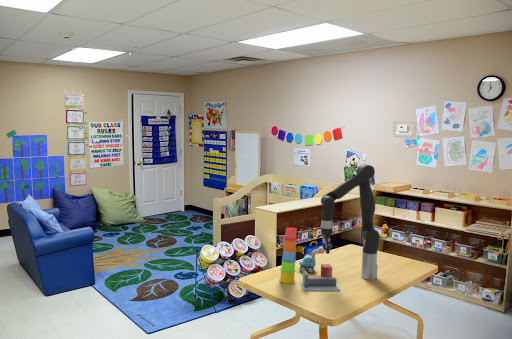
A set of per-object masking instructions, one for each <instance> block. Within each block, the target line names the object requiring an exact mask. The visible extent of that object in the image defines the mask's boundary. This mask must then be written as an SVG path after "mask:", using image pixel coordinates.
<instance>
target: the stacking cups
mask: <svg viewBox="0 0 512 339" xmlns="http://www.w3.org/2000/svg"><path fill="white" fill-rule="evenodd" d="M284 232H285V233H284V235H285V236H284V238H283V239H284V242H283V243H284V244H283V248H282V250H283V251H282V258H281V268H279V270H280V274H279V275H280V277H279V279H278V280H279V282H280V283H282V284H286V285H292V284H295V282H296V279H295V275H296V274H295V273H296V262H297V260H296V254H297V240H298V239H297V233H298V229H297V228H296V227H294V226H287V227H286V228H285V231H284Z"/></svg>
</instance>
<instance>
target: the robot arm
mask: <svg viewBox="0 0 512 339" xmlns="http://www.w3.org/2000/svg"><path fill="white" fill-rule="evenodd" d="M375 173H376V171H375V168H374V166H372V165H370V164H366V163H361V164H359V165H358V166H357V168H356V175H354V176H353V177H351V178H349V179H348V180H346V181H344V182H341V184H339V185H338V186H337V187H336V188H334V189H333V190H331V191H329V192H328V193H326V194H324V195H322V197H321V198H320V203H321V205H322V206H323V210H322V212H321V223H320V234H321V235H322V239H321V242H322V247H323V249H324V251H325V254H327V255H328V254H330V253H331V252H330V251H331V250H330V249H331V248H332V238H331V237H330V236H332V235H333V233H334V231H333V230H334V222H333V218H334V216H333V214H334V210H335V201H336V200H340V199H342V198H343V197H345V196H346V195H347V194H348V193H349V192H351V191H352V190H354V189H356V188H357V187H358V188H359V203H360V204H359V205H360V211H361V213H360V215H361V236H362V238H363V240H365V242H364V246H363V247H362V256H361V274H360V275H361V278H362V279H363V280H369V281H373V280H378V263H377V262H378V250H379V247H380V232H378V230H376V229H375V225H374V215H375V211H376V202H375V195H374V193H373V189H372V186H371V183H370V182H371V181H370V179H371V178H373V177H374V176H375Z"/></svg>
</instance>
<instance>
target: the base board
mask: <svg viewBox="0 0 512 339" xmlns="http://www.w3.org/2000/svg"><path fill="white" fill-rule="evenodd" d="M299 283H300V286H301V289H302V291H304V292H310V291H311V292H315V291H316V292H323V291H324V292H326V291H327V292H328V291H329V292H334V291H335V292H340V291H341V290H340V286H338V285H337V283H336V286H308V288H306V287H304V285H303V281H300V282H299Z"/></svg>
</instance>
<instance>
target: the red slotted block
mask: <svg viewBox="0 0 512 339" xmlns="http://www.w3.org/2000/svg"><path fill="white" fill-rule="evenodd" d="M320 277H333V266H332V265H331V263H321V264H320Z"/></svg>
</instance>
